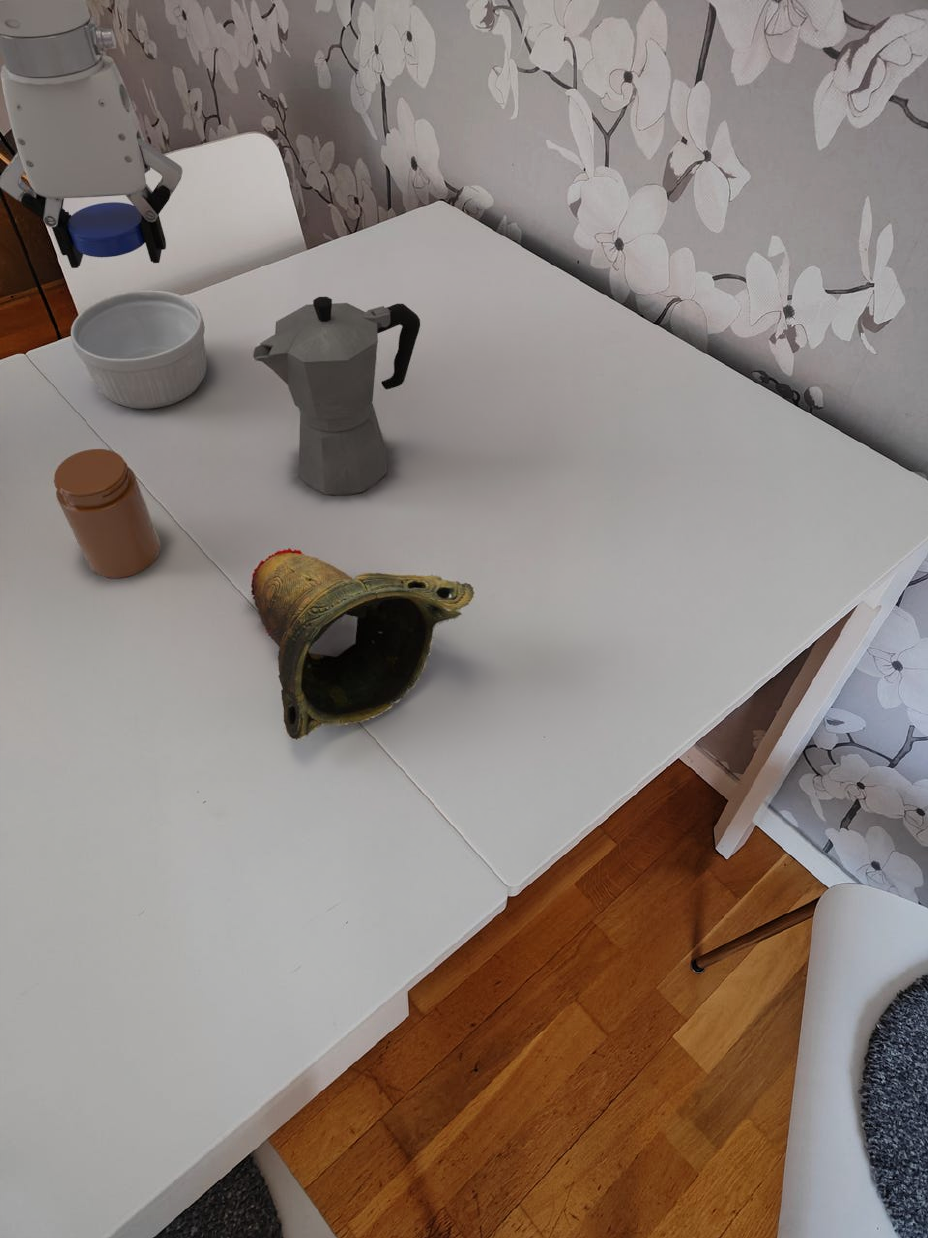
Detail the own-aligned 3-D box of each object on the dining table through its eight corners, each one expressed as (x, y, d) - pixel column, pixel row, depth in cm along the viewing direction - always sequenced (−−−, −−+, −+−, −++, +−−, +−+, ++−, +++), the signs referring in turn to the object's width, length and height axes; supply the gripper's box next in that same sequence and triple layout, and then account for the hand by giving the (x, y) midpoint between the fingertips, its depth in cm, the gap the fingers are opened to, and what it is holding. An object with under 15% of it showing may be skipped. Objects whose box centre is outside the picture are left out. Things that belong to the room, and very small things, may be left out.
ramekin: (239, 363, 97) (227, 306, 91) (166, 431, 89) (148, 373, 84) (143, 334, 100) (125, 278, 95) (65, 397, 93) (41, 340, 87)
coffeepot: (297, 516, 81) (265, 348, 68) (263, 457, 87) (227, 291, 73) (444, 466, 86) (442, 300, 72) (403, 414, 91) (394, 249, 77)
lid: (159, 244, 82) (154, 225, 80) (87, 265, 79) (80, 245, 78) (133, 214, 86) (128, 195, 84) (64, 233, 83) (57, 213, 82)
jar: (83, 582, 76) (43, 501, 69) (91, 531, 80) (54, 449, 73) (158, 573, 77) (126, 492, 69) (162, 523, 81) (132, 441, 73)
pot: (329, 464, 73) (444, 537, 59) (395, 553, 80) (510, 635, 67) (171, 605, 70) (255, 714, 57) (255, 683, 77) (346, 795, 64)
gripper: (164, 27, 73) (211, 234, 87) (-50, 36, 72) (32, 244, 86) (154, 60, 69) (206, 273, 82) (-75, 70, 67) (17, 284, 81)
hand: (117, 256), depth 84 cm, fingers closed on lid, 6 cm apart
